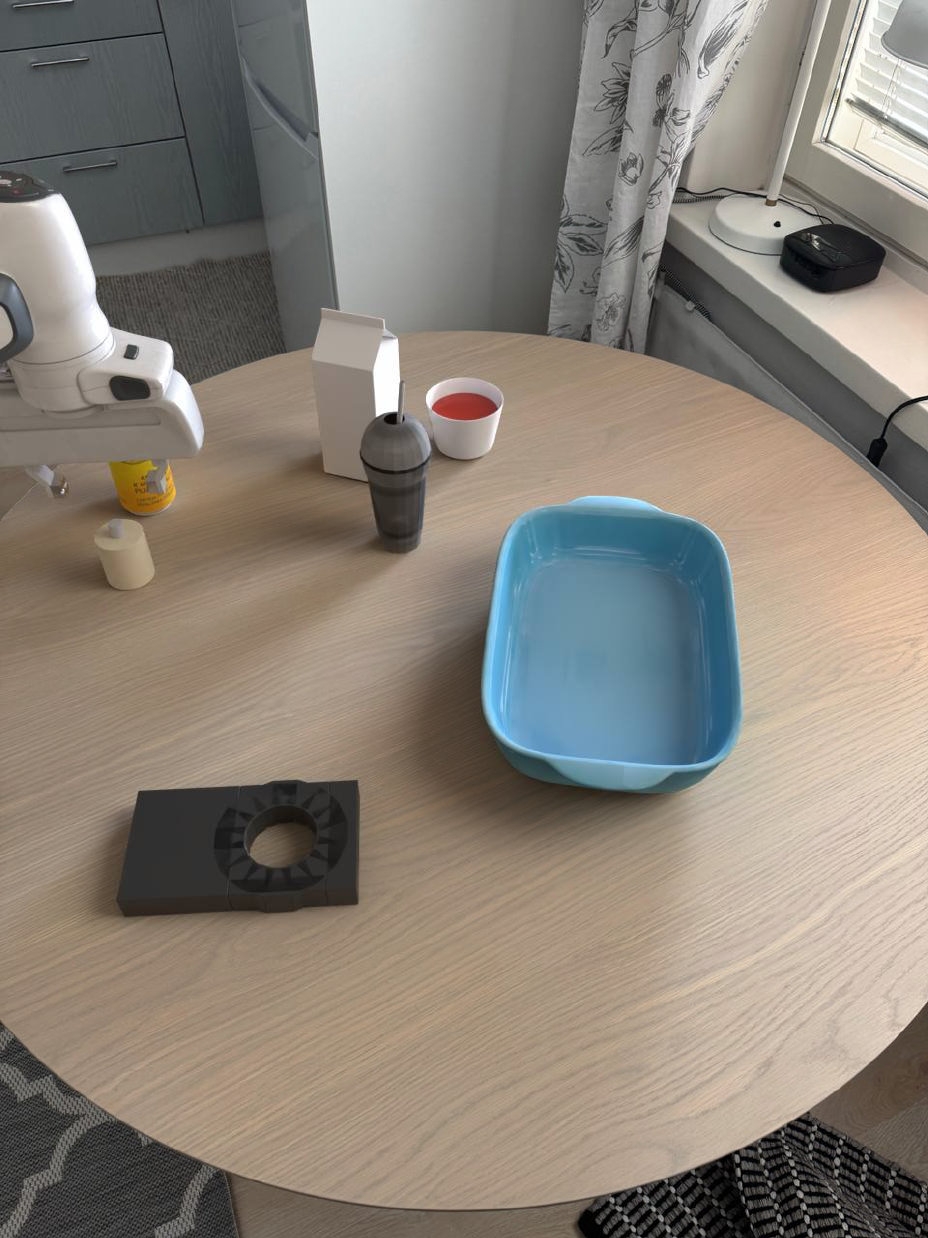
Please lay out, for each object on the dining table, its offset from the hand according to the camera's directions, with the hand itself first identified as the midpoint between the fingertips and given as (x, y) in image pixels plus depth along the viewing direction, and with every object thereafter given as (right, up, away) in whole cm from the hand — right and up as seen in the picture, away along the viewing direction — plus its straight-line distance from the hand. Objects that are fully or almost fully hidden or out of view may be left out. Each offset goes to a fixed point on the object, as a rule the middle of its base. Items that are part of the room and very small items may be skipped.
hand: (109, 492), depth 96 cm
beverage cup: (+27, -4, +12) cm, 30 cm away
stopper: (0, -8, +7) cm, 11 cm away
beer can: (-1, +1, +16) cm, 16 cm away
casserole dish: (+48, -17, -1) cm, 51 cm away
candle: (+34, +9, +24) cm, 43 cm away
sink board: (+17, -31, -16) cm, 39 cm away
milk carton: (+22, +6, +21) cm, 32 cm away
